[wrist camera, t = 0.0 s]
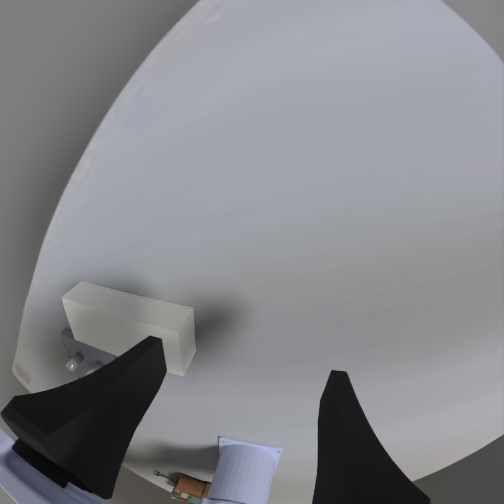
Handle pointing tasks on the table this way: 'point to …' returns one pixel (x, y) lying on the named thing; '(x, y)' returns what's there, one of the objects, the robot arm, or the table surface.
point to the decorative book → (188, 489)
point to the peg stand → (84, 356)
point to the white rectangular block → (130, 323)
